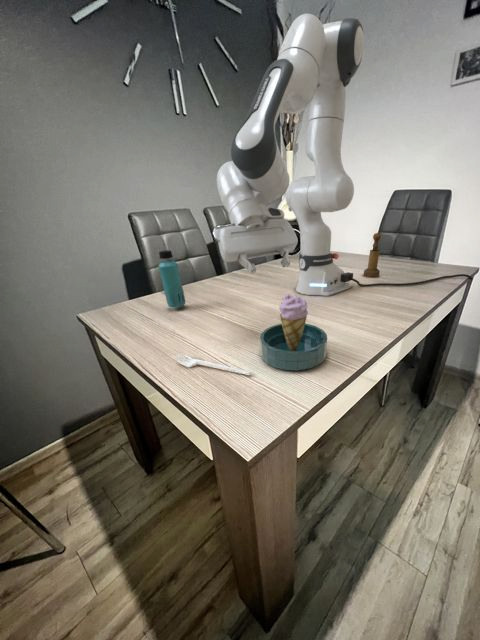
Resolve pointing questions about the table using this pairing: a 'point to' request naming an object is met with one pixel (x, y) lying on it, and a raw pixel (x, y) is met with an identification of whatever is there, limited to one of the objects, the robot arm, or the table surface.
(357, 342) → the table surface
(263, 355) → the bowl
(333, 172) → the robot arm
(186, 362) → the fork
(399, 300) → the table surface
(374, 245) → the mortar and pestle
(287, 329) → the ice cream cone
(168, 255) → the beverage bottle
